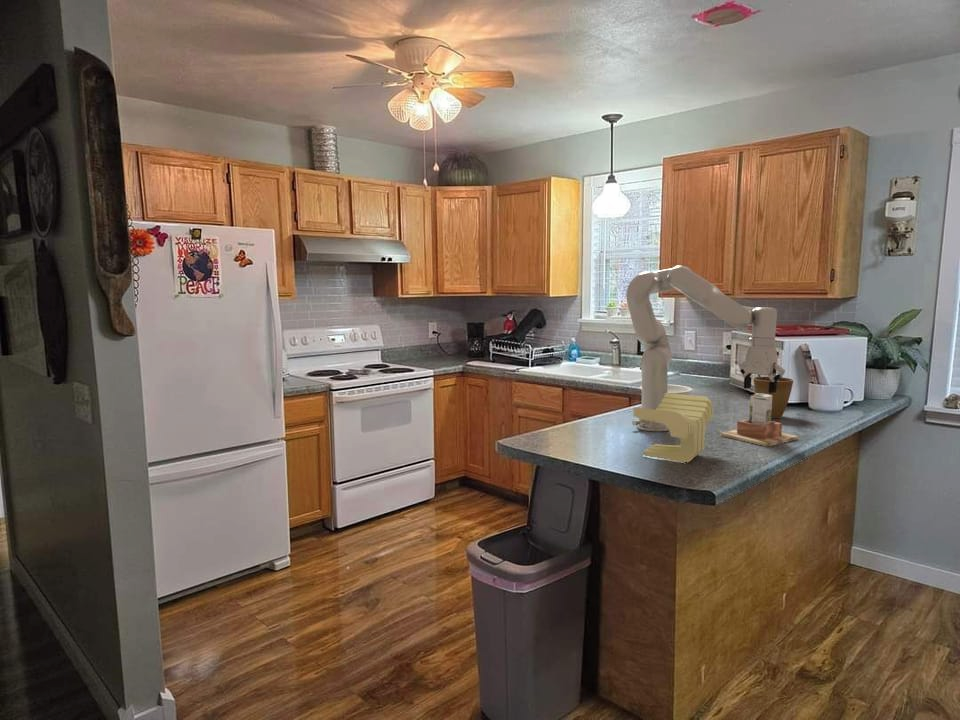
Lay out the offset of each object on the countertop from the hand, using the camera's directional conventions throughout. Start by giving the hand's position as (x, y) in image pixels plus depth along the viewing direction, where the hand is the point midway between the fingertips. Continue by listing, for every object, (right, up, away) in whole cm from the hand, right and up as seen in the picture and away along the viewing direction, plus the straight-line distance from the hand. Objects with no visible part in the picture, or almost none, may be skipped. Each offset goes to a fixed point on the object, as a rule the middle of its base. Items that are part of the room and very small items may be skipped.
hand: (759, 390), depth 215 cm
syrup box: (+1, -16, +1) cm, 16 cm away
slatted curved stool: (-37, -21, -21) cm, 47 cm away
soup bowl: (-12, -9, +71) cm, 72 cm away
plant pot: (+22, -13, +36) cm, 44 cm away
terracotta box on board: (+1, -17, +2) cm, 17 cm away
